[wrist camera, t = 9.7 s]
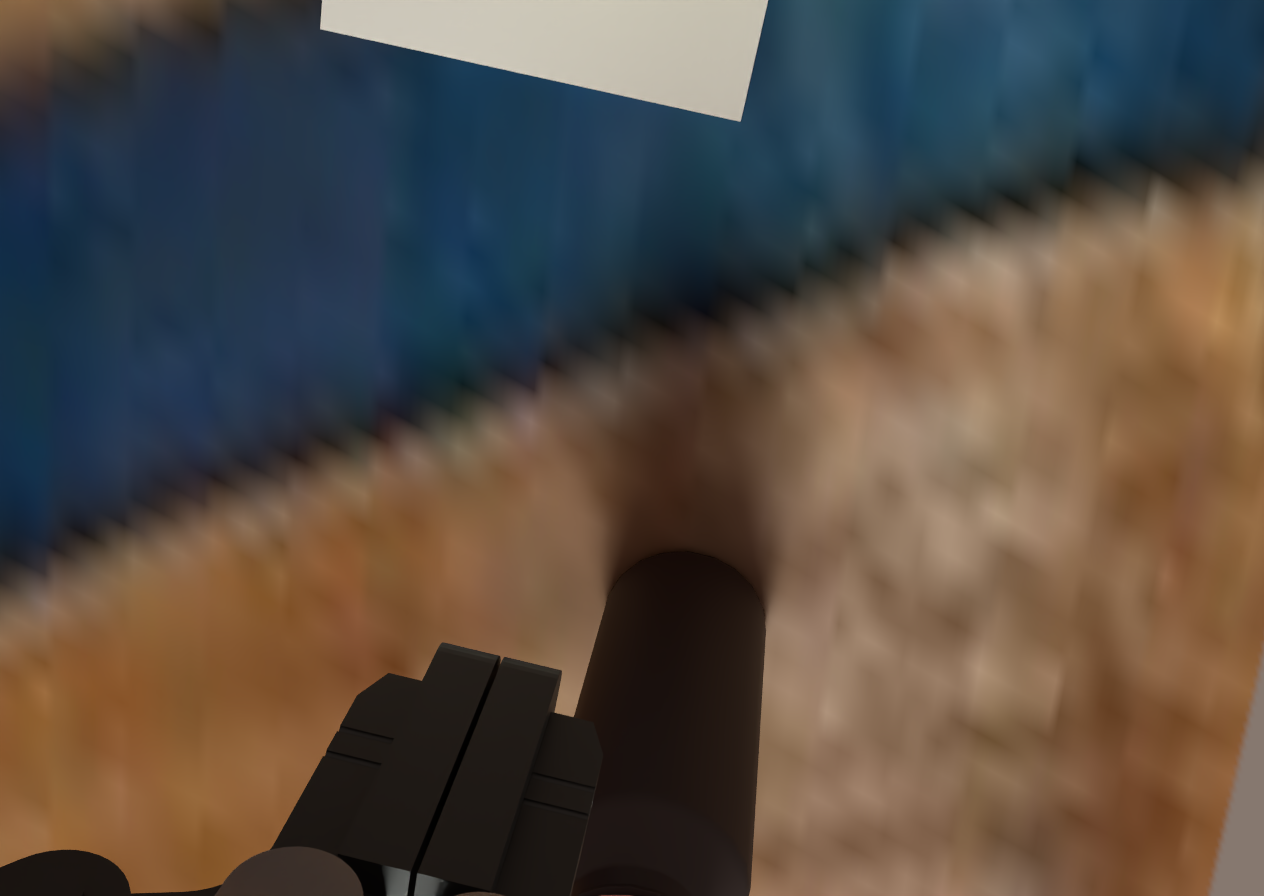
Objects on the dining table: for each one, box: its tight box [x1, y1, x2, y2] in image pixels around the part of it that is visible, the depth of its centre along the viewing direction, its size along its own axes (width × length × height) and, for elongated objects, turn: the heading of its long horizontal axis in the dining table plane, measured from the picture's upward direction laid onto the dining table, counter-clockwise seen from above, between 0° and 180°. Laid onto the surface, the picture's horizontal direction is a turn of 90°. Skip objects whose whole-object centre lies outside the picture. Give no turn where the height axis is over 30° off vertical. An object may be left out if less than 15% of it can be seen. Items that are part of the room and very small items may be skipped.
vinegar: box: [571, 552, 766, 896], centre depth 41 cm, size 7×7×20 cm
